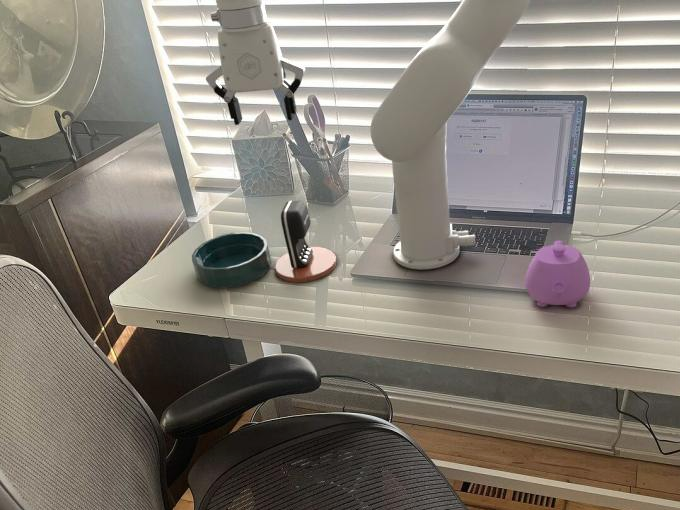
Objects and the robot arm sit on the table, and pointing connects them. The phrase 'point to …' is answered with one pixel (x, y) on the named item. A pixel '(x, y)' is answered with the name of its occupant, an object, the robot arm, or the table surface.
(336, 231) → the table surface
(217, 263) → the bowl
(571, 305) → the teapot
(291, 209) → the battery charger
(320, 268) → the plate
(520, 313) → the table surface
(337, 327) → the table surface
